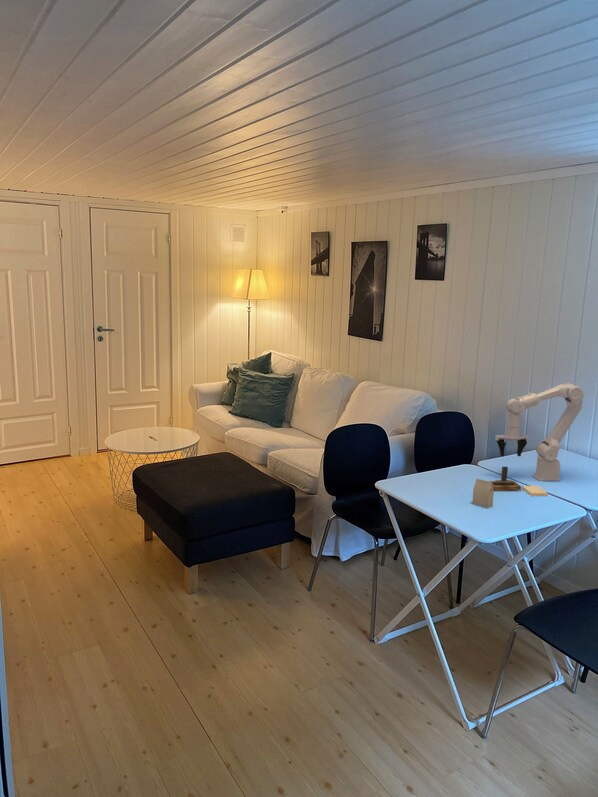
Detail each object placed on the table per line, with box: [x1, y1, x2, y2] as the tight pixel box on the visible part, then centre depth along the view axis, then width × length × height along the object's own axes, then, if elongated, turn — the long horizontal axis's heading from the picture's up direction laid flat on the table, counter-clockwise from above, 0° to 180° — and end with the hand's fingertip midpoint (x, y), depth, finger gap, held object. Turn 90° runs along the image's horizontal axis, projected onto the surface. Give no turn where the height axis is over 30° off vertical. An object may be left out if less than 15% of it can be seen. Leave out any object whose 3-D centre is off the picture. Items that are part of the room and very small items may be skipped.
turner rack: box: [488, 480, 522, 492], centre depth 262 cm, size 12×7×2 cm, turn 94°
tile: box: [521, 485, 549, 497], centre depth 258 cm, size 7×2×9 cm
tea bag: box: [471, 478, 495, 509], centre depth 242 cm, size 4×7×10 cm, turn 45°
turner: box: [494, 466, 513, 485], centre depth 262 cm, size 7×1×10 cm, turn 94°
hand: (510, 455), depth 275 cm, fingers open, 7 cm apart
